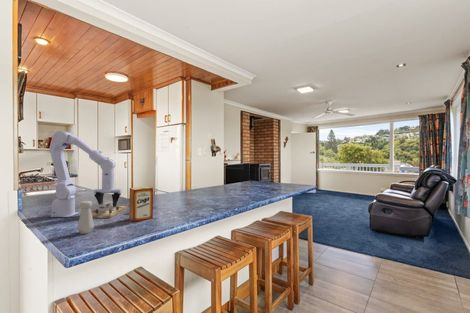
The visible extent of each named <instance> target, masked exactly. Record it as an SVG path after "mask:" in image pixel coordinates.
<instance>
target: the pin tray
mask: <svg viewBox="0 0 470 313" xmlns="http://www.w3.org/2000/svg"><path fill="white" fill-rule="evenodd" d="M126 211H128V206H127V205H126V206H123V205H122V206H121V205H119V206H118V205H116V206H115V210H114V211H112V209H110V210H109V213H107V214H98V208H96V209H93V210H91V213H92V218H95V219H111V218H113V217H114V218H115V216H118V215H120V214H122V213H124V212H126Z"/></svg>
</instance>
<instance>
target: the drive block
mask: <svg viewBox="0 0 470 313" xmlns="http://www.w3.org/2000/svg"><path fill="white" fill-rule="evenodd" d="M97 207H98V208H97V209H98V214H107V213H109V210H110V209H112V211H114V210H115V207H113V200H108V201H105V202H104V201H103V203H101V204H97Z"/></svg>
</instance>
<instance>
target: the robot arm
mask: <svg viewBox="0 0 470 313" xmlns="http://www.w3.org/2000/svg"><path fill="white" fill-rule="evenodd" d="M70 145H75V146H76V147H78V148H79V149H81V150H82V151H84V152H85V153H86V154H88V156H89V159H90V160H92V161H93V162H94V163H96V165H98V166H99V167H100V168H101V172H102V173H101V188H96V189H95V188H94V189H93V194H94V197H95V198H96V201H97V205H99V204H101V203H104V196H105V194H111V197H112V201H113V207H115V206H118V205H117V204H118V201H119V198H120V196H121V194H122V193H123V189H118V188H115V167H116V162H115V161H114V160H113V159H110V157H109V156H106V155H105V154H104V153H103V151H101V150H98V149H93V148H92V147H91V146H90V145H89V144H87V143H86V142H85V141H84V140H82V138H80V137H79V136H77V135H76V134H74V133H73V132H71V131H70V132H69V131H64V130H58V131H56V132H55V133H53V135H51V141H50V145H49V147H48V148H49V152H50V153H49V154H50V156H51V160H52V164H53V168H54V171H55V177H56V180H57V183H56V184H55V197H56V198H54V199H53V200H52V202H51V215H50V217H51V218H69V217H72V216H76V215H78V214H79V213H80V212H79V211H78V212H77V211H76V194H77V193H78V188H77V186H76V185H75V184H74V181H73V180H72V179H71V177H70V173H69V169H68V165H67V160H66V157H65V153H64V151H65V150H66V148H67V147H68V146H70Z"/></svg>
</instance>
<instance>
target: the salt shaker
mask: <svg viewBox="0 0 470 313" xmlns="http://www.w3.org/2000/svg"><path fill="white" fill-rule="evenodd" d="M92 207H93V201H90V200H84V201H81V202H80V203H79V208H81V210H80V214H79V220H78V224H77V231H78V233H79V234H80V235H86V234H87V235H88V234H90V233H92V232H93V230H94V229H95V228H94V227H95V224H94V223H95V222H94V219H93V218H92V213H91V211H92V209H91V208H92Z"/></svg>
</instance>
